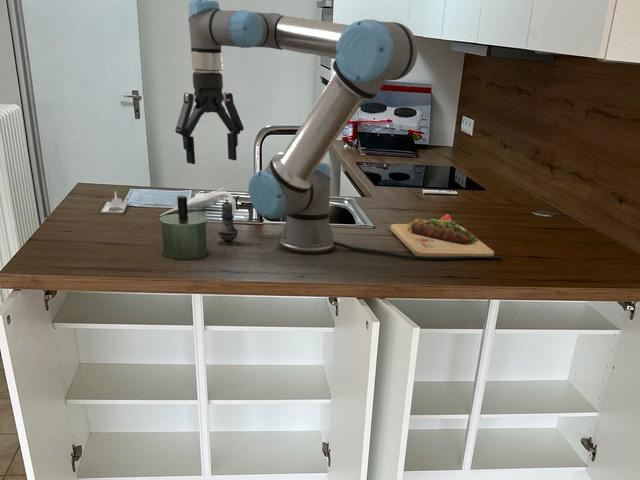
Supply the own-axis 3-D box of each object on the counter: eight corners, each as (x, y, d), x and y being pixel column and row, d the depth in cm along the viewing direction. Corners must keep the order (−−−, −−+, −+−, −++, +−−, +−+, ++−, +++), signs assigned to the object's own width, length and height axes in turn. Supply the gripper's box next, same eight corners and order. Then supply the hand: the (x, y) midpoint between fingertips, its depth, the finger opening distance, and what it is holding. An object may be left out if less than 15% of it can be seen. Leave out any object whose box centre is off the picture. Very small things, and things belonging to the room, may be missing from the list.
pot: (212, 250, 203) (211, 218, 199) (198, 261, 194) (196, 227, 189) (173, 246, 204) (171, 214, 200) (157, 256, 195) (154, 223, 191)
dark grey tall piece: (216, 240, 212) (214, 196, 206) (237, 240, 214) (235, 196, 208) (219, 246, 208) (217, 201, 201) (240, 245, 209) (239, 201, 203)
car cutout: (107, 203, 246) (105, 188, 243) (127, 203, 247) (126, 189, 245) (100, 213, 233) (99, 198, 231) (122, 213, 234) (121, 198, 232)
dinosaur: (161, 232, 251) (166, 235, 236) (152, 206, 247) (156, 208, 233) (231, 210, 255) (240, 212, 241) (223, 184, 251) (231, 184, 237)
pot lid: (213, 220, 199) (212, 194, 196) (197, 230, 189) (196, 203, 186) (170, 216, 201) (168, 190, 197) (152, 226, 191) (149, 198, 187)
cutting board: (388, 229, 236) (390, 204, 233) (458, 230, 241) (461, 206, 237) (416, 259, 207) (419, 231, 203) (496, 259, 212) (500, 232, 208)
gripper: (237, 71, 200) (240, 156, 211) (156, 70, 184) (164, 162, 195) (255, 72, 195) (257, 160, 206) (174, 72, 180) (181, 166, 191)
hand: (212, 161), depth 201 cm, fingers open, 13 cm apart
